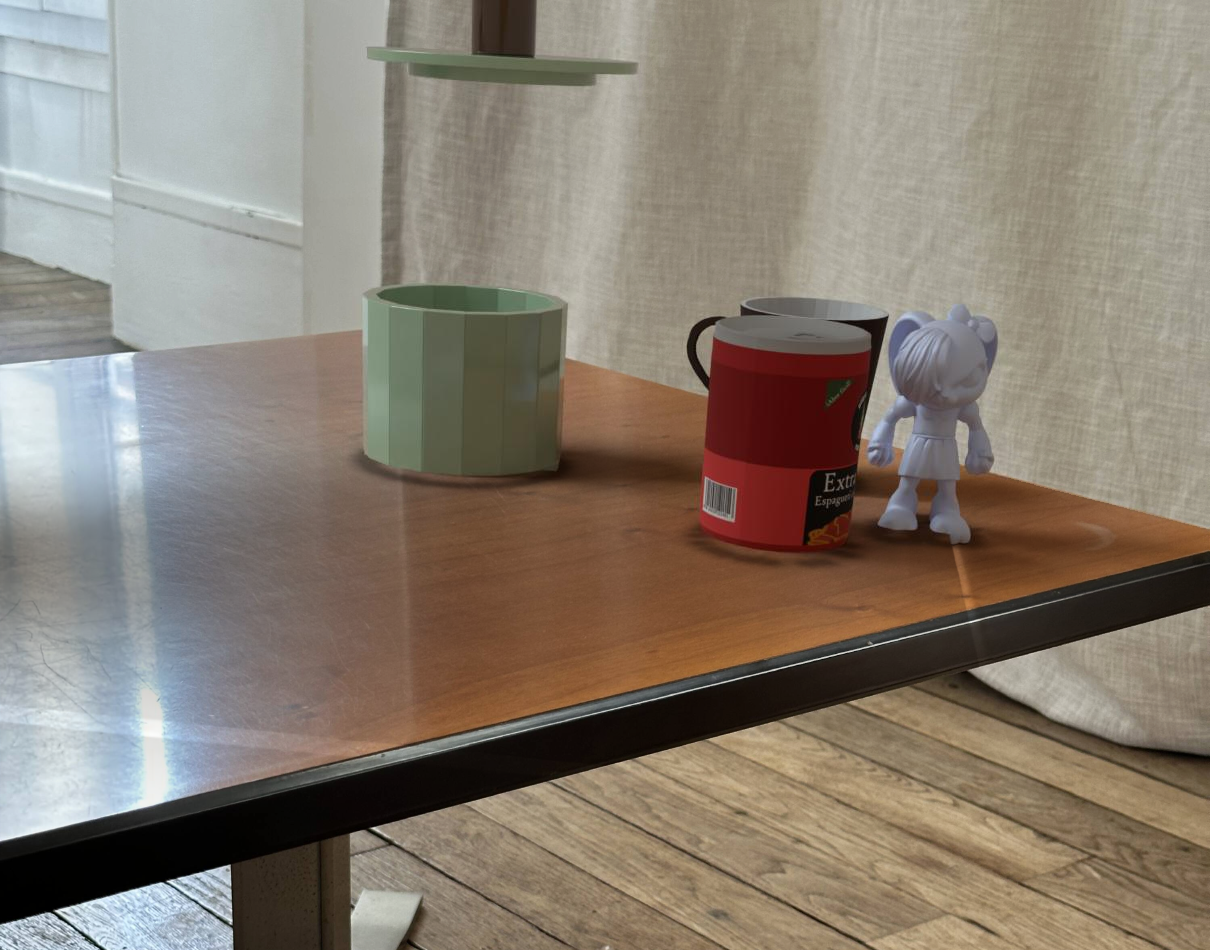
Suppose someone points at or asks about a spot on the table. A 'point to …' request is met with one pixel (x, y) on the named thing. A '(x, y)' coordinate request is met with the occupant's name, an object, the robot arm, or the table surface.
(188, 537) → the table surface
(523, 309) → the canister
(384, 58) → the lid
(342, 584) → the table surface
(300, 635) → the table surface
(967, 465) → the toy figurine
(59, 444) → the table surface
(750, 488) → the canned food
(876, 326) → the coffee mug
